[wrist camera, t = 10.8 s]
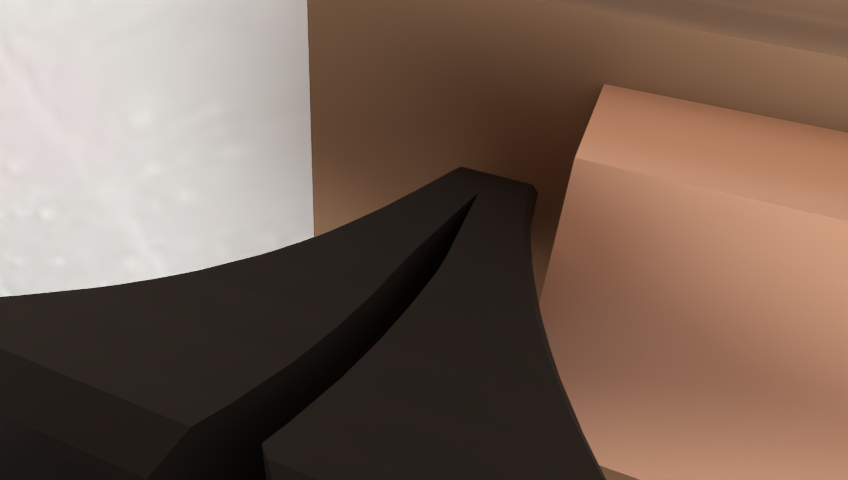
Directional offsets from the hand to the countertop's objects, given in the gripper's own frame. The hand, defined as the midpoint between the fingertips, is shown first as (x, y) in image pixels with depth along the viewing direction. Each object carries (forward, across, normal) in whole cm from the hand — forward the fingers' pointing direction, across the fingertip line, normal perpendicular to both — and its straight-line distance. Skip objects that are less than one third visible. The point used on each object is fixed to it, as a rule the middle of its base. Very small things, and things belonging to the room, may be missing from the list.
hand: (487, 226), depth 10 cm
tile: (+1, -4, 0) cm, 4 cm away
